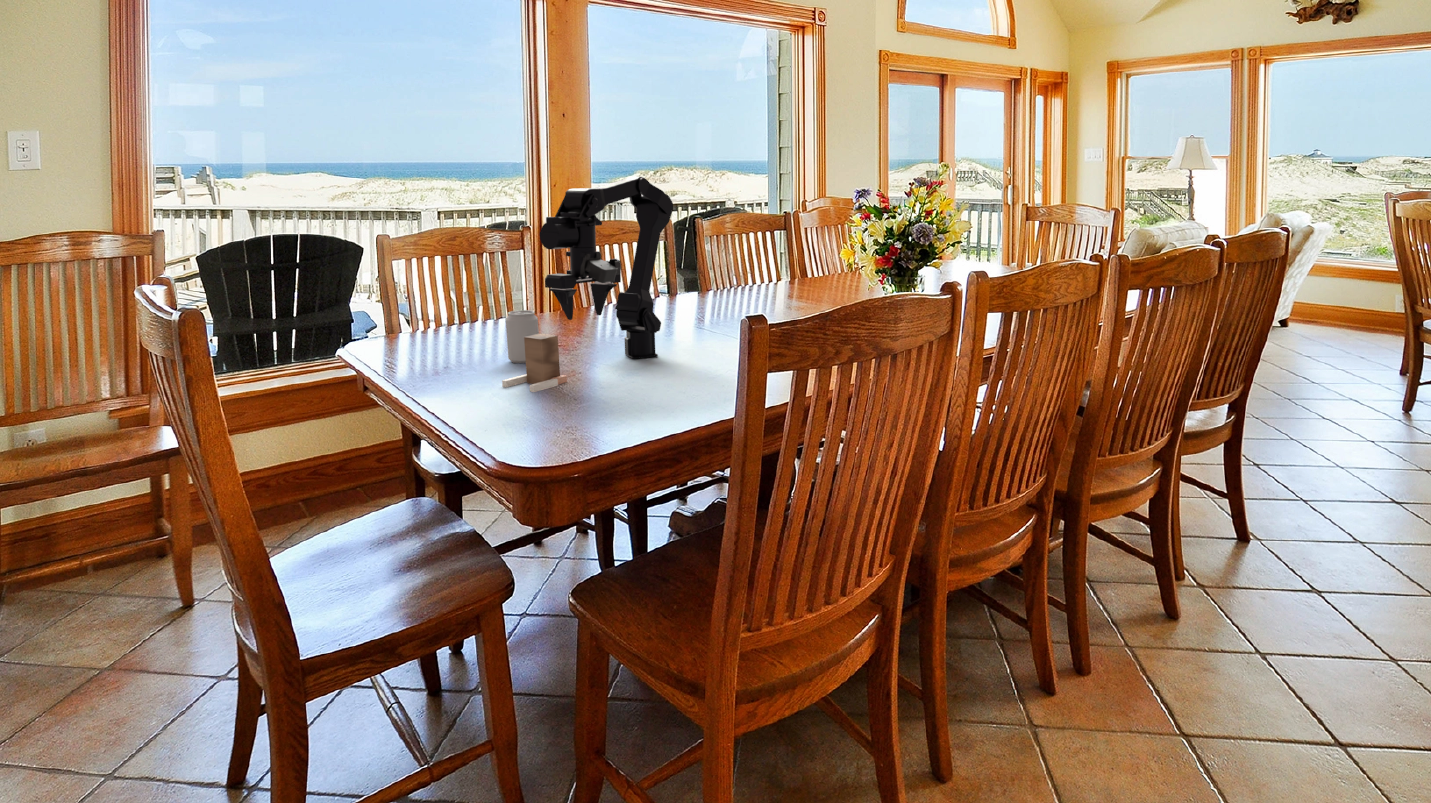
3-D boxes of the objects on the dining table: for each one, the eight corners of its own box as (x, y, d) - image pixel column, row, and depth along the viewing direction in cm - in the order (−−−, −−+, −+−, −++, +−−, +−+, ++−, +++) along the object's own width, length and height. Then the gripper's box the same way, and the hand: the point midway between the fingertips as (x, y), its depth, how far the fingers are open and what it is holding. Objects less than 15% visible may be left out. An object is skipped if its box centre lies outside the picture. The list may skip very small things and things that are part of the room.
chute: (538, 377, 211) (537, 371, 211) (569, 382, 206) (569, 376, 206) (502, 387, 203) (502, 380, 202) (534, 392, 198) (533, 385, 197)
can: (533, 365, 224) (530, 314, 221) (503, 364, 226) (499, 313, 223) (545, 358, 231) (542, 309, 228) (515, 357, 233) (512, 308, 230)
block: (543, 378, 209) (541, 333, 207) (560, 381, 207) (557, 335, 204) (527, 382, 206) (524, 337, 203) (543, 385, 203) (540, 339, 200)
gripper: (579, 251, 199) (581, 325, 202) (638, 246, 213) (639, 316, 217) (541, 248, 205) (544, 321, 209) (601, 244, 220) (603, 311, 223)
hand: (584, 317), depth 214 cm, fingers open, 9 cm apart
